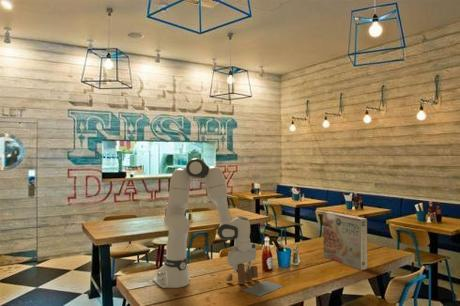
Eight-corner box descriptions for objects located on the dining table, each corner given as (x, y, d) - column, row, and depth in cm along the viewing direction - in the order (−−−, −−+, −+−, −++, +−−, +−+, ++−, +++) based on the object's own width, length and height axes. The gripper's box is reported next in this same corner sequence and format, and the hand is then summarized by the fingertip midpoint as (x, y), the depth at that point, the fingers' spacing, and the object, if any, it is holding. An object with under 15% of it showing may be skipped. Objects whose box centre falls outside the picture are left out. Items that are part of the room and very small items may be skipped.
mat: (242, 290, 188) (242, 290, 188) (266, 281, 203) (266, 280, 203) (259, 296, 180) (259, 296, 180) (283, 286, 194) (283, 286, 194)
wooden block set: (254, 279, 207) (253, 260, 209) (261, 281, 200) (260, 262, 201) (225, 283, 200) (224, 264, 202) (232, 286, 192) (230, 266, 194)
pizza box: (323, 259, 245) (323, 212, 246) (329, 258, 248) (329, 211, 248) (360, 272, 217) (360, 219, 217) (367, 271, 220) (366, 218, 220)
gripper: (232, 250, 192) (232, 276, 192) (258, 244, 206) (258, 268, 206) (224, 247, 197) (224, 273, 197) (250, 242, 211) (250, 265, 211)
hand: (241, 270), depth 201 cm, fingers open, 8 cm apart
